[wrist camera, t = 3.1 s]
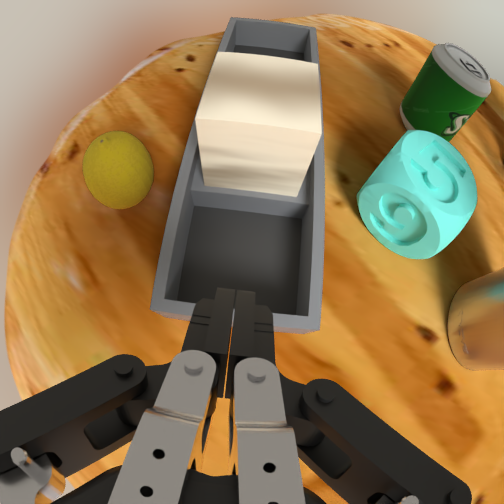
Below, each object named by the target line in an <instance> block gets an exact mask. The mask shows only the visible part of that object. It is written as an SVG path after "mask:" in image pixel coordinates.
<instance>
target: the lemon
mask: <svg viewBox="0 0 504 504" xmlns="http://www.w3.org/2000/svg"><path fill="white" fill-rule="evenodd" d="M82 168H83V175H84V179H85V182H86V185H87V187H88V189H89V190H90V192H91V193H92V195H93V196H94V198H95V199H97V200H98V201H99V202H100V203H102V204H103V205H105V206H107V207H110V208H113V209H126V208H130V207H133V206H135V205H137V204H138V203H140V202H141V201H142V200H143V199H144V198H145V197H146V196H147V194H148V192H149V191H150V189H151V186H152V183H153V178H154V168H153V163H152V159H151V156H150V154H149V152H148V151H147V149H146V148H145V146H144V145H143V143H142V142H141V141H140V140H139V139H137V138H136V137H135V136H133V135H132V134H130V133H127V132H124V131H111V132H107V133H104V134H102V135H101V136H99V137H97V138H96V139H95V140H94V141H93V142H92V143H91V144H90V145H89V147H88V149H87V150H86V152H85V155H84V158H83V167H82Z"/></svg>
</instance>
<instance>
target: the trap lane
mask: <svg viewBox="0 0 504 504" xmlns="http://www.w3.org/2000/svg"><path fill="white" fill-rule="evenodd" d="M218 52H234V53H246V54H256V55H265V56H273V57H281V58H287V59H294V60H300V61H305V62H311V63H316V64H318V73H319V87H320V105H321V127H322V135H321V137H320V140H319V142H318V145H317V147H316V150H315V152H314V155H313V157H312V160H311V162H310V165H309V168H308V170H307V173H306V175H305V178H304V180H303V183H302V185H301V188H300V190H299V192H298V195H297V197H293V196H286V195H279V194H271V193H264V192H256V191H248V190H239V189H231V188H221V187H212V186H205V185H204V178H203V172H202V165H201V158H200V151H199V144H198V136H197V129H196V121H195V118H194V121H193V125H192V128H191V131H190V135H189V138H188V141H187V145H186V148H185V152H184V156H183V159H182V163H181V166H180V170H179V174H178V178H177V182H176V186H175V189H174V193H173V198H172V202H171V206H170V210H169V214H168V219H167V223H166V227H165V232H164V237H163V241H162V246H161V251H160V256H159V261H158V266H157V271H156V277H155V282H154V288H153V293H152V299H151V305H150V310H152V311H154V312H156V313H158V314H160V315H162V316H164V317H167V318H174V319H180V320H186V321H190V320H191V316H192V313H193V310H194V306H195V305H196V304H197V303H198V302H199V301H200V300H201V299H202V298H205V299H213V300H215V295H216V291H217V287H219V288H227V289H235V299H234V308H233V317H232V326H231V327H233V320H234V312H235V303H236V295H237V290H244V291H253V292H255V305H264V306H268V308H269V309H270V311H271V312H272V314H273V326H274V331H276V332H287V333H298V334H305V333H310V332H314V331H318V330H320V319H321V304H322V286H323V264H324V228H325V166H324V132H323V110H322V93H321V79H320V66H319V55H318V45H317V35H316V28H313V27H308V26H302V25H297V24H290V23H284V22H276V21H268V20H259V19H247V18H233V17H231V18H230V21H229V23H228V26H227V28H226V31H225V33H224V36H223V38H222V41H221V43H220V46H219V48H218V51H217V53H218ZM216 55H217V54H216ZM215 58H216V56H215ZM214 61H215V59H214ZM213 64H214V62H213ZM212 66H213V65H212ZM211 69H212V67H211ZM210 72H211V70H210ZM209 75H210V73H209ZM208 78H209V76H208ZM207 81H208V79H207ZM206 83H207V82H206ZM205 86H206V85H205ZM204 89H205V87H204ZM203 92H204V90H203ZM202 95H203V93H202ZM201 98H202V96H201ZM200 101H201V99H200ZM199 105H200V103H199ZM198 108H199V106H198ZM197 111H198V109H197ZM196 114H197V112H196ZM195 117H196V115H195Z"/></svg>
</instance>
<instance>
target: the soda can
mask: <svg viewBox="0 0 504 504" xmlns="http://www.w3.org/2000/svg"><path fill="white" fill-rule="evenodd" d="M489 81H490V76H489V74H488V73H487V71H486V70H485V68H484V67H483V66H482V65H481V64H480V63H479V61H478V60H477V59H475V58H474V57H473V56H472V55H471V54H469V53H468V52H467V51H465V50H464V49H462V48H460V47H458V46H457V45H454V44H451V43H446V44H438V45H436V46H434V48H433V49H432V51H431V53H430V55H429V56H428V58H427V60H426V62H425V63H424V65H423V67H422V69H421V70H420V72H419V74H418V76H417V77H416V79H415V81H414V82H413V84H412V86H411V87H410V89H409V91H408V92H407V94H406V96H405V97H404V99H403V101H402V102H401V105H400V108H399V110H400V115H401V117H402V121H403V124H404V126H405V128H406V129H407V130H422V131H427V132H431V133H434V134H436V135H438V136H440V137H442V138H443V139H445V140H446V141H448V142H449V141H450V140H451V139H452V138H453V137H454V135H455V134H456V133H457V132H458V131H459V130H460V129H461V127H462V126H463V125H464V124H465V123H466V122H467V120H468V119H469V118H470V117H471V116H472V114H473V113H474V112H475V111H476V110H477V109H478V107H479V106H480V105H481V104H482V102H483V101H484V100H485V99H486V98H487V96H488V95H489V94H490V92H491V86H490V82H489Z"/></svg>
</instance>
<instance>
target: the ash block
mask: <svg viewBox="0 0 504 504" xmlns="http://www.w3.org/2000/svg"><path fill="white" fill-rule="evenodd" d="M195 121H196V129H197V136H198V144H199V151H200V158H201V165H202V172H203V178H204V185H205V186H212V187H221V188H231V189H239V190H248V191H256V192H264V193H271V194H279V195H286V196H293V197H297V195H298V192H299V190H300V188H301V185H302V183H303V180H304V178H305V175H306V173H307V170H308V168H309V165H310V162H311V160H312V157H313V155H314V152H315V150H316V147H317V145H318V142H319V140H320V137H321V135H322V127H321V105H320V87H319V73H318V64H316V63H311V62H305V61H300V60H294V59H287V58H281V57H273V56H265V55H256V54H246V53H234V52H218V53H217V55H216V58H215V61H214V64H213V66H212V69H211V72H210V75H209V78H208V81H207V83H206V86H205V89H204V92H203V95H202V98H201V101H200V105H199V108H198V111H197V114H196V117H195Z"/></svg>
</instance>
